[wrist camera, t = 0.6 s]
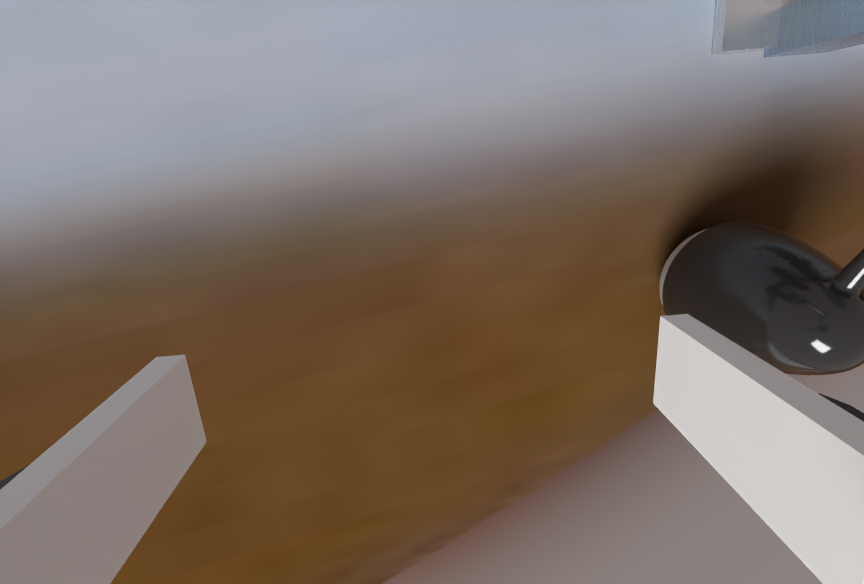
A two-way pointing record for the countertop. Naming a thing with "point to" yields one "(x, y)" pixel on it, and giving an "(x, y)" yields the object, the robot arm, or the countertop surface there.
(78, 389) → the countertop surface
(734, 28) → the press
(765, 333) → the pump dispenser
